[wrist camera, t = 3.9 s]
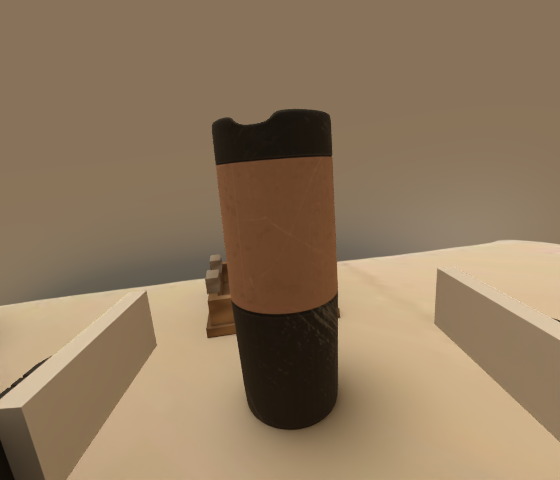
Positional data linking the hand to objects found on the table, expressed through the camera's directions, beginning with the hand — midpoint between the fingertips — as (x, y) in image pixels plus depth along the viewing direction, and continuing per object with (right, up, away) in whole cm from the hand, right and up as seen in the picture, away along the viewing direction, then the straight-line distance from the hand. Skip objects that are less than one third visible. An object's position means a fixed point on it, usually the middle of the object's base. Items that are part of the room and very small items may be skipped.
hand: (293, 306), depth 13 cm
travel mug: (0, -9, +10) cm, 13 cm away
